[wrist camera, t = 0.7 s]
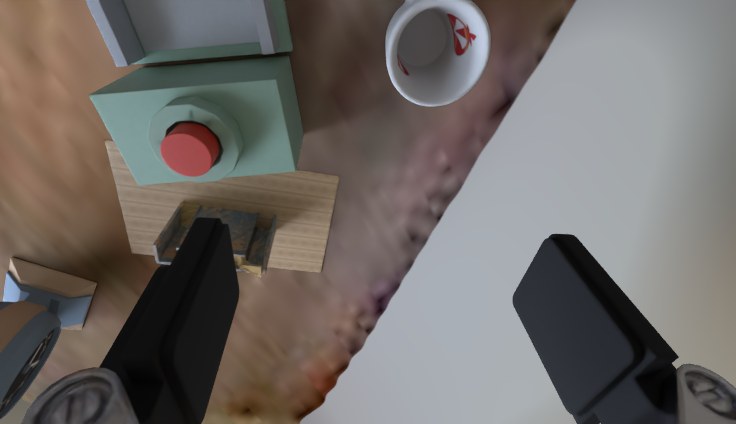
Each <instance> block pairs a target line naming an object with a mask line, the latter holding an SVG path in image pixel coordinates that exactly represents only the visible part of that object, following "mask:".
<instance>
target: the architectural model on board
mask: <svg viewBox="0 0 736 424" xmlns="http://www.w3.org/2000/svg"><path fill="white" fill-rule="evenodd" d="M105 143H106V147H107V151H108V156H109V160H110V164H111V168H112V172H113V176H114V180H115V185H116V189H117V193H118V197H119V201H120V205H121V209H122V213H123V218H124V222H125V226H126V230H127V234H128V238H129V242H130V247H131V251H132V253H135V254H145V255H155V260H156V263H160V264H171V263H172V261H173V259H174V257H175V255H176V253H177V252H178V250H179V248H180V246H181V244H182V242H183V241H184V239H185V237H186V235H187V233H188V232H189V230H190V228H191V226H192V224H193V222H194V221H195V219H196V218H198V217H205V218H220V219H221V221H222V224H228V225H229V230H230V236H231V242H232V248H233V254H234V261H235V267H236V271H242V272H249V273H251V274H254V275H256V276H259V277H262V274H266V270H267V267H272V268H282V269H292V270H302V271H312V272H321V268H322V263H323V258H324V253H325V248H326V243H327V238H328V233H329V228H330V222H331V217H332V212H333V207H334V202H335V197H336V192H337V187H338V182H339V177H340V176H334V175H328V174H321V173H315V172H308V171H302V170H296V171H295V172H284V173H273V174H262V175H251V176H239V177H228V178H222V179H221V180H219V181H212V182H200V183H197V182H194V181H184V182H172V183H161V184H150V185H138V184H137V182H136V180H135V178H134V177H133V175H132V173H131V171H130V169H129V167H128V166H127V164H126V162H125V160H124V158H123V156H122V155H121V153H120V151H119V149H118V147H117V146H116V144H115V142H114V141H109V140H105Z"/></svg>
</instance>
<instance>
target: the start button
mask: <svg viewBox="0 0 736 424" xmlns="http://www.w3.org/2000/svg"><path fill="white" fill-rule="evenodd" d="M219 151H220V147H219V143H218V140H217V138H216V137H215V135H214V134H213V133H212V132H211V131H210V130H209V129H207V128H206V127H204V126H202V125H200V124H196V123H182V124H180V125H178V126H176V127H175V128H174V129H173V130H172V131H171V132H170V133H169V134H168V135H167V136H166V137H165V138H164V139H163V141H162V143H161V146H160V152H161V156H162V158H163V160H164V162H165V163H166V164H167V165H168V166H169V167H170V168H171V169H172V170H173V171H175V172H177V173H179V174H181V175H184V176H189V177H197V176H201V175H203V174H205V173H207V172H208V171H209V170H210V168H211V167H212V165H213V164H214V162H215V160H216V159H217V157H218V155H219Z"/></svg>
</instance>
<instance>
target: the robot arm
mask: <svg viewBox="0 0 736 424" xmlns="http://www.w3.org/2000/svg"><path fill="white" fill-rule="evenodd" d="M238 299H239V285H238V279H237V273H236V267H235V261H234V254H233V248H232V242H231V236H230V230H229V225H228V224H222V221H221V219H220V218H205V217H198V218H196V219H195V221H194V222H193V224H192V226H191V228H190V230H189V232H188V233H187V235H186V237H185V239H184V241H183V242H182V244H181V246H180V248H179V250H178V252H177V253H176V255H175V257H174V259H173V261H172V263H171V264H170V265H162V266H160V267H159V268H158V269H157V270H156V271H155V273H154V275H153V276H152V278H151V280H150V281H149V283H148V285H147V287H146V288H145V290H144V292H143V293H142V295H141V297H140V299H139V300H138V302H137V304H136V305H135V307H134V309H133V311H132V312H131V314H130V316H129V317H128V319H127V321H126V323H125V324H124V326H123V328H122V329H121V331H120V333H119V335H118V336H117V338H116V340H115V341H114V343H113V345H112V347H111V348H110V350H109V352H108V353H107V355H106V357H105V359H104V360H103V362H102V364H101V365H100V367H99V368H96V367H93V368H88V369H83V370H79V371H77V372H74V373H72V374H69V375H67V376H65V377H63V378H61V379H60V380H58V381H57V382H55V383H53V384H52V385H50V386H49V387H48V388H47V389H46V390H45V391H44V392H42V393H41V394H40V395H39V396H38V397H37V398H36V400H35V401H34V402H33V403H32V405H31V406H30V407H29V409H28V410H27V412H26V414H25V417H24V419H23V421H22V423H21V424H201V423H202V421H203V419H204V416H205V413H206V409H207V406H208V402H209V399H210V396H211V392H212V389H213V385H214V382H215V378H216V375H217V372H218V368H219V365H220V361H221V358H222V354H223V351H224V348H225V344H226V341H227V337H228V334H229V330H230V327H231V324H232V320H233V317H234V313H235V310H236V306H237V303H238ZM513 305H514V308H515V309H516V312H517V313H518V315H519V317H520V319H521V321H522V323H523V325H524V327H525V329H526V331H527V333H528V335H529V337H530V339H531V341H532V343H533V345H534V347H535V349H536V351H537V353H538V355H539V357H540V359H541V361H542V363H543V365H544V367H545V369H546V371H547V373H548V374H549V377H550V379H551V381H552V383H553V385H554V387H555V388H556V391H557V393H558V395H559V397H560V399H561V400H562V403H563V405H564V406H565V408H566V410H567V411H568V412H569V413H570V414H572V415H573V417H574V419H575V420H576V423H577V424H599V423H601V424H736V388H735V387H734V386H733V385H731V384H730V383H729V382H728V381H726V380H725V379H724V378H722V377H721V376H719V375H718V374H716V373H714V372H713V371H711V370H708V369H706V368H704V367H701V366H699V365H694V364H683V365H681V366H680V367H679V368H677V369H676V368H675V367H674V366H673V365H672V362H674V361H675V360H676V359H677V358H678V356H677V354H676V353H675V352H674V351H673V350H672V348H671V347H670V346H669V345H668V344H667V343H666V341H665V340H664V339H663V338H662V337H661V336H660V334H659V333H658V332H657V331H656V330H655V328H654V327H653V326H652V325H651V324H650V323H649V321H648V320H647V319H646V318H645V317H644V316H643V315H642V313H641V312H640V311H639V310H638V309H637V308H636V306H635V305H634V304H633V303H632V302H631V300H629V298H628V297H627V296H626V295H625V293H624V292H623V291H622V290H621V289H620V288H619V286H618V285H617V284H616V283H615V282H614V281H613V279H612V278H611V277H610V276H609V275H608V274H607V272H606V271H605V270H604V269H603V268H602V267H601V265H600V264H599V263H598V262H597V261H596V260H595V258H594V257H593V256H592V255H591V254H590V253H589V252H588V250H587V249H586V248H585V247H584V246H583V244H582V243H581V242H580V241H579V240H578V239H577V238H576V237H575V236H574V235H569V234H552V235H550V236H549V238H547V239H545V240H544V241H543V243H542V245H541V247H540V248H539V250H538V252H537V254H536V255H535V257H534V259H533V261H532V263H531V264H530V266H529V268H528V270H527V271H526V273H525V275H524V277H523V279H522V280H521V282H520V284H519V286H518V287H517V289H516V291H515V293H514V295H513Z"/></svg>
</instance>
